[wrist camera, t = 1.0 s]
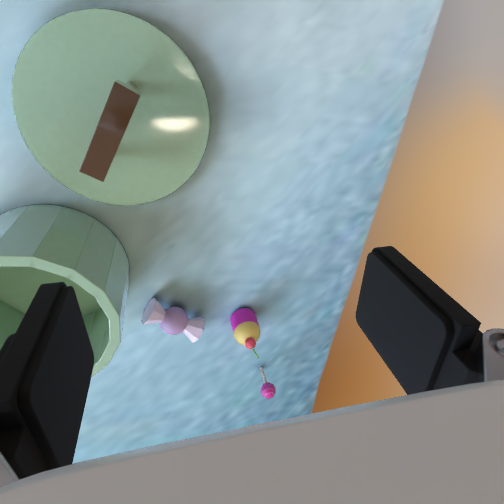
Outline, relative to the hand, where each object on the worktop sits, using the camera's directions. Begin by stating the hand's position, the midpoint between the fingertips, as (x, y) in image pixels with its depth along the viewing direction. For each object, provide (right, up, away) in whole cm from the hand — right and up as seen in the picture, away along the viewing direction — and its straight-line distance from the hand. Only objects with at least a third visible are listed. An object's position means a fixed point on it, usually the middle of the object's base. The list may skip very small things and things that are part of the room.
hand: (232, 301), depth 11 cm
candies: (-3, -7, +29) cm, 30 cm away
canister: (-17, 0, +21) cm, 27 cm away
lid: (-9, +12, +15) cm, 21 cm away
